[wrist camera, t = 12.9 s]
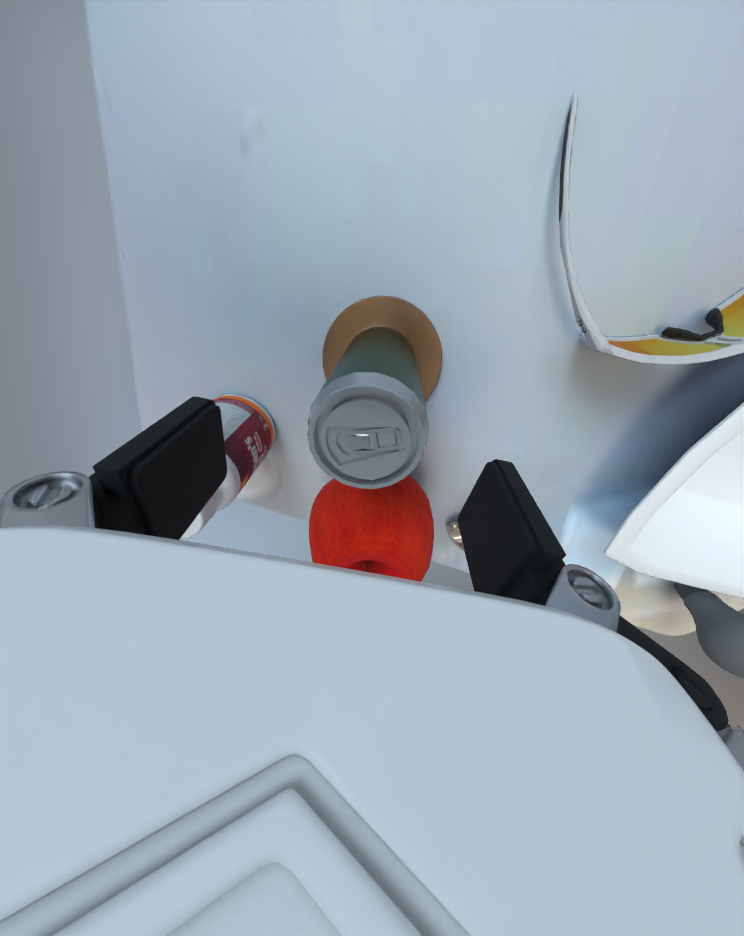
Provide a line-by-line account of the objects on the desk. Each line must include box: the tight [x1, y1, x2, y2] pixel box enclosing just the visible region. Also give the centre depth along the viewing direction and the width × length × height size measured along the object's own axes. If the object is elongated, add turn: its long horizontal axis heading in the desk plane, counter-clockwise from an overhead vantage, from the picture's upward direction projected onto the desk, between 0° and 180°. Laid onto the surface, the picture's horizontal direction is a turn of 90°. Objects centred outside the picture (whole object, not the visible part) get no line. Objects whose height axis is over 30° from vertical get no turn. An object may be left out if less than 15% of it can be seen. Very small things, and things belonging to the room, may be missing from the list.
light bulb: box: [674, 582, 744, 678], centre depth 30 cm, size 6×6×10 cm
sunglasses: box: [559, 92, 744, 365], centre depth 15 cm, size 14×15×5 cm
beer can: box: [308, 327, 428, 489], centre depth 17 cm, size 5×5×12 cm
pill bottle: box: [180, 394, 275, 539], centre depth 22 cm, size 6×6×11 cm
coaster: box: [323, 296, 442, 401], centre depth 22 cm, size 9×9×1 cm
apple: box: [309, 475, 434, 582], centre depth 24 cm, size 10×10×12 cm
